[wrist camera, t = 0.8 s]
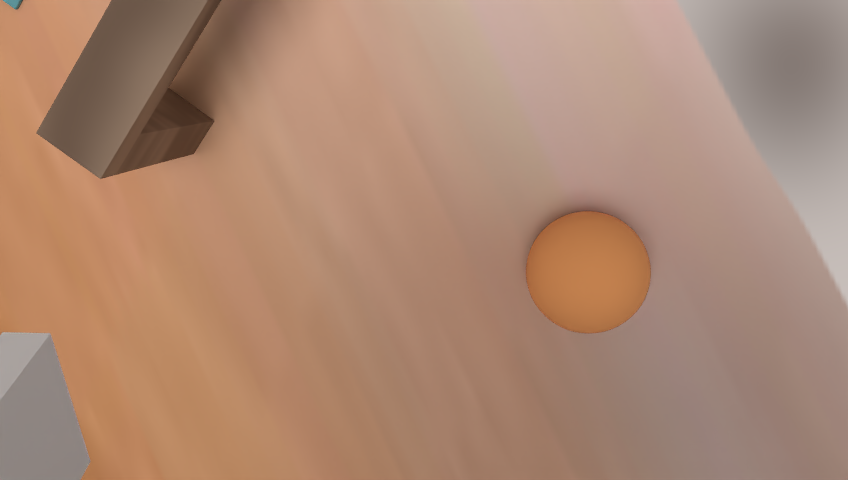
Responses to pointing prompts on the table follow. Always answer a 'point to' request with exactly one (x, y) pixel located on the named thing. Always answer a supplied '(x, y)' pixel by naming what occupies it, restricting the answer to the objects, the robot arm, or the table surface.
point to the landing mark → (13, 3)
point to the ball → (588, 272)
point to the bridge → (131, 89)
